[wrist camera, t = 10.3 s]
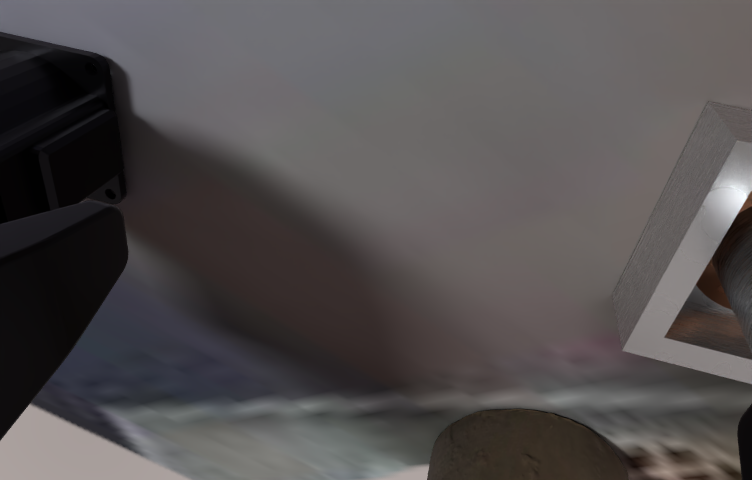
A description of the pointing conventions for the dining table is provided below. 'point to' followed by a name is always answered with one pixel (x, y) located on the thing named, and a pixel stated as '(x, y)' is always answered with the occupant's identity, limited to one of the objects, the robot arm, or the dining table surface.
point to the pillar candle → (522, 449)
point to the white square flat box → (691, 255)
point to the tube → (737, 270)
